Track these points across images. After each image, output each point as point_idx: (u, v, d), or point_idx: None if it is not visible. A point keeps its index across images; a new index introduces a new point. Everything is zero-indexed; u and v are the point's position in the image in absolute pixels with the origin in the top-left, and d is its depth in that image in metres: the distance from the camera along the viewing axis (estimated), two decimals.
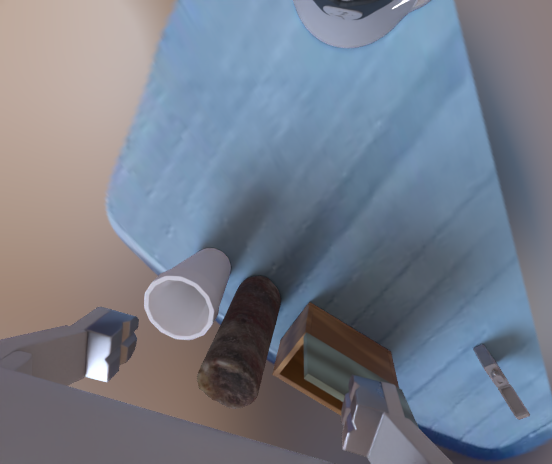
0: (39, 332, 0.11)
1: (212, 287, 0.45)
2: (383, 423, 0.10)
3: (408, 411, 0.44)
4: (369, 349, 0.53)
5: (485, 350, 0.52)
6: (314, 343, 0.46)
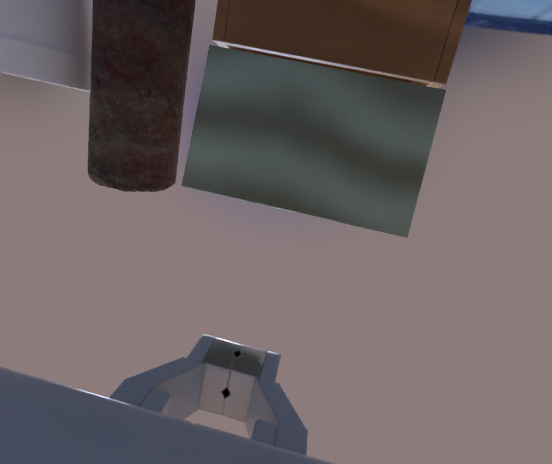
0: (162, 366, 0.10)
1: (17, 47, 0.25)
2: (254, 387, 0.11)
3: (418, 161, 0.22)
4: None
5: None
6: (220, 76, 0.23)
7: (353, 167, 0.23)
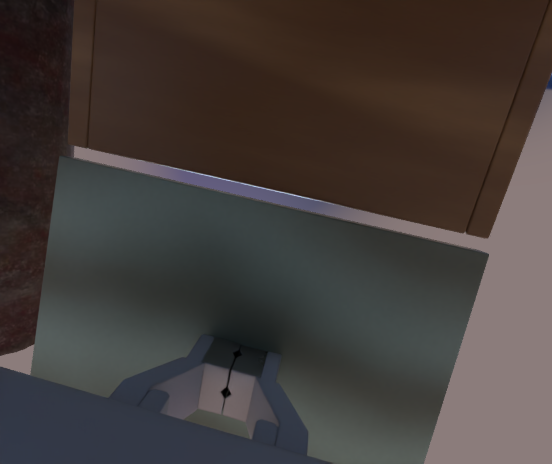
0: (162, 366, 0.10)
1: None
2: (254, 387, 0.11)
3: (434, 377, 0.12)
4: (400, 57, 0.11)
5: None
6: (81, 212, 0.13)
7: (318, 380, 0.13)
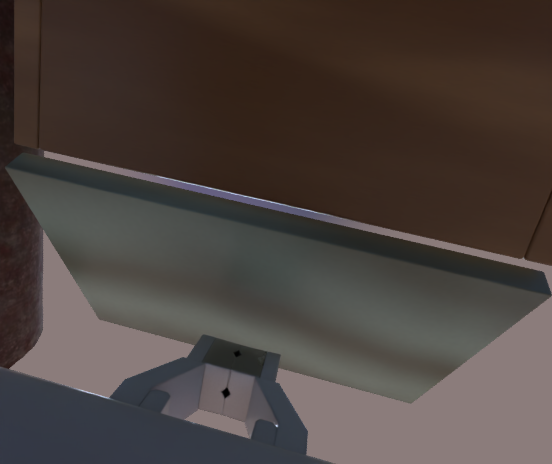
0: (163, 366, 0.10)
1: None
2: (254, 387, 0.11)
3: (447, 360, 0.12)
4: (442, 25, 0.08)
5: None
6: (64, 219, 0.12)
7: (333, 346, 0.14)
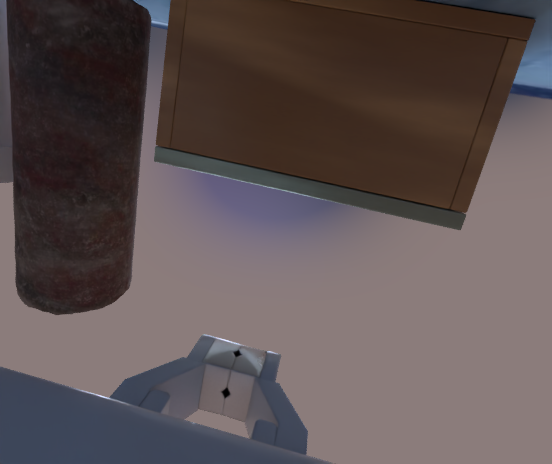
0: (163, 366, 0.10)
1: None
2: (254, 387, 0.11)
3: None
4: (401, 82, 0.15)
5: None
6: None
7: None
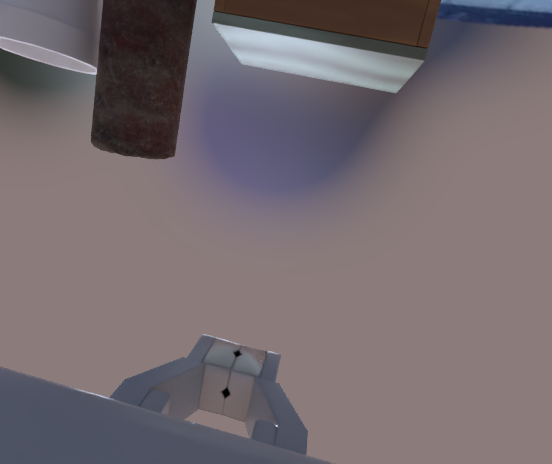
0: (163, 366, 0.10)
1: (32, 18, 0.27)
2: (254, 387, 0.11)
3: (402, 78, 0.29)
4: None
5: None
6: (233, 35, 0.27)
7: (354, 73, 0.30)
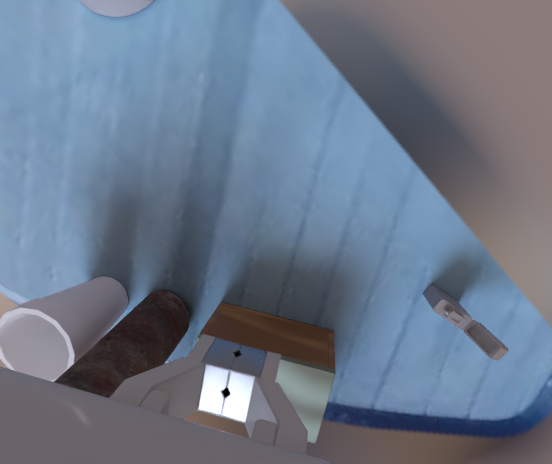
0: (163, 366, 0.10)
1: (67, 311, 0.38)
2: (254, 387, 0.11)
3: (320, 407, 0.39)
4: (298, 334, 0.43)
5: (433, 289, 0.41)
6: None
7: None
